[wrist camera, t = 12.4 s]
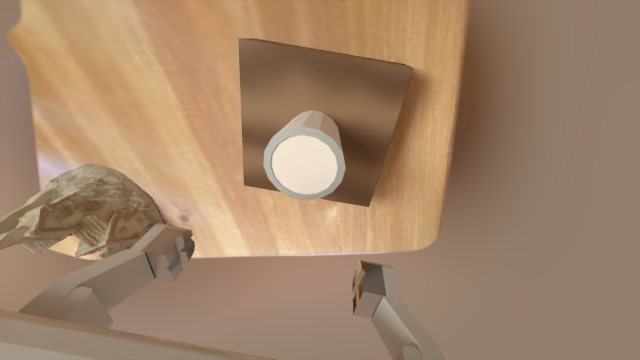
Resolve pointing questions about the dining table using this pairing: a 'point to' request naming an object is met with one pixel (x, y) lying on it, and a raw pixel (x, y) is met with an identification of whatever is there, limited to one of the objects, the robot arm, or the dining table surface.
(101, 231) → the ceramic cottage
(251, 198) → the dining table surface
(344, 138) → the walnut block
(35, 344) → the robot arm
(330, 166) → the white cup
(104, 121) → the dining table surface
